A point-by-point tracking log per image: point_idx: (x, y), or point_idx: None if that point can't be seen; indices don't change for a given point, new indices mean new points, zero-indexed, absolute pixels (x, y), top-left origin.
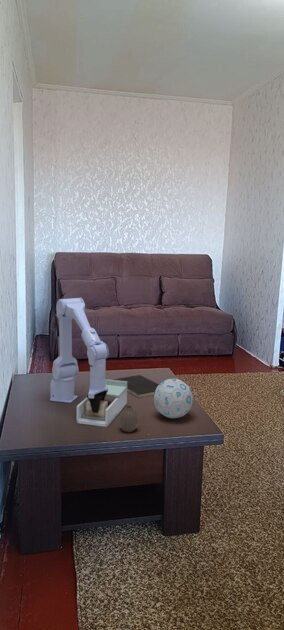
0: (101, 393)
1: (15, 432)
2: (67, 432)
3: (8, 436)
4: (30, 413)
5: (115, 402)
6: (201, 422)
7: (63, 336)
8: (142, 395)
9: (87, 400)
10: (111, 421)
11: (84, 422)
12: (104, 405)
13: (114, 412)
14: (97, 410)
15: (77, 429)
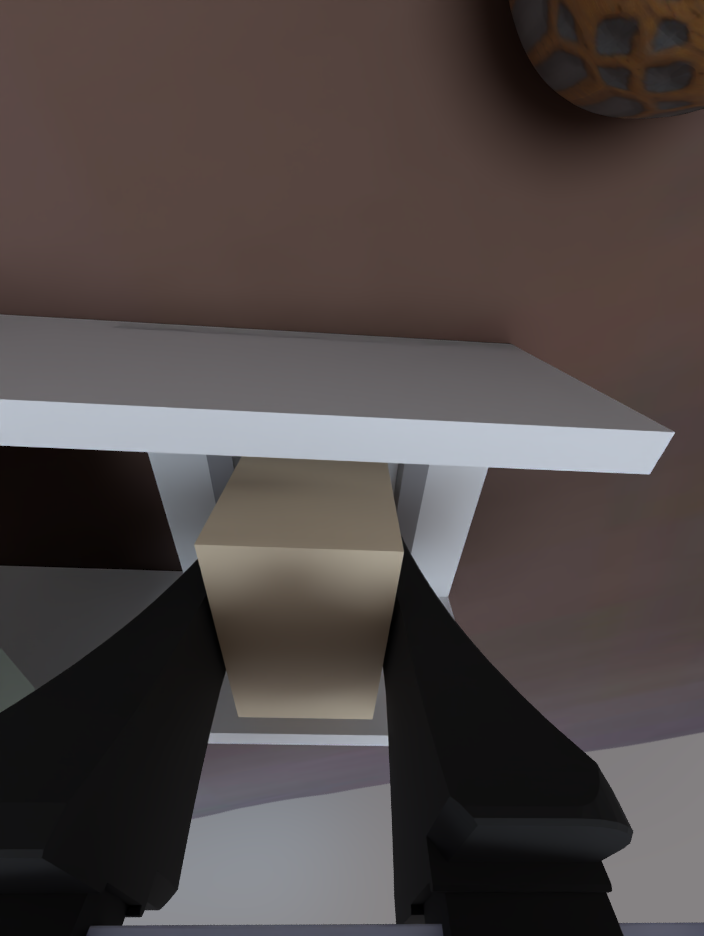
0: (147, 789)
1: (573, 740)
2: (604, 594)
3: (614, 744)
4: (351, 754)
5: (84, 391)
6: None
7: None
8: None
9: (220, 704)
10: (361, 336)
11: (457, 555)
12: (381, 539)
13: (224, 345)
14: (407, 556)
15: (556, 559)
